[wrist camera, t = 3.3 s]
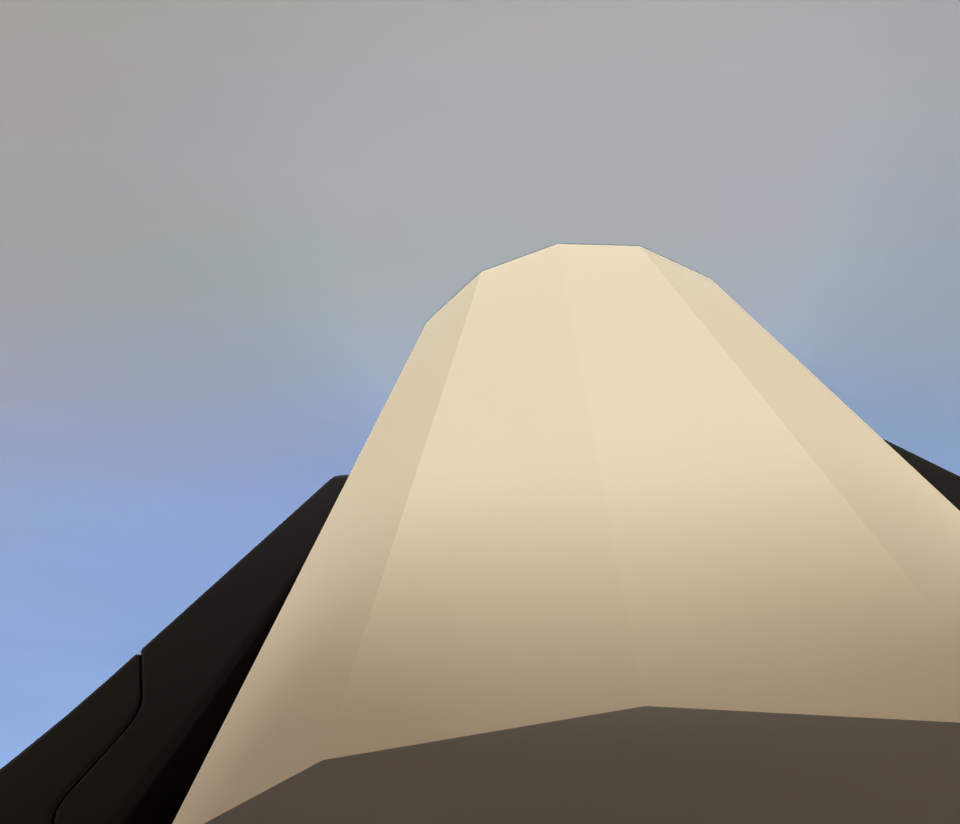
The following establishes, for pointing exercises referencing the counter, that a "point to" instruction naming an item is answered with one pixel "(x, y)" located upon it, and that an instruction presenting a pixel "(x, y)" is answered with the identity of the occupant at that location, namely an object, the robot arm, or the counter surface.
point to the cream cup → (608, 584)
